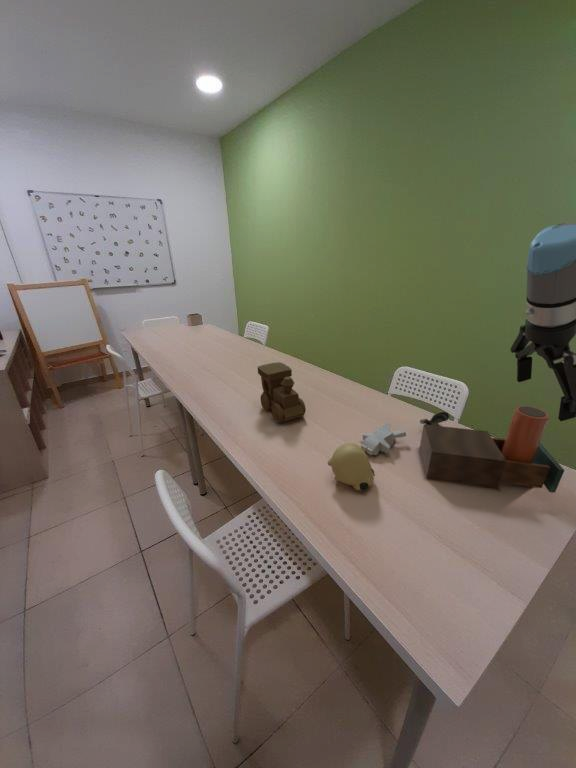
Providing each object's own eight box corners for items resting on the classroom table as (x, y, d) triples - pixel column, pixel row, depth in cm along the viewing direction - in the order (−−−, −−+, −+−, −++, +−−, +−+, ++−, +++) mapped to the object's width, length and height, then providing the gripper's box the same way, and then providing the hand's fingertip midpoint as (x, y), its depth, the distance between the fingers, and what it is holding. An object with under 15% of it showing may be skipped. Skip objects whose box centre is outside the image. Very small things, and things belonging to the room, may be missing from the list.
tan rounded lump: (343, 502, 77) (376, 494, 70) (316, 463, 77) (345, 451, 70) (358, 479, 84) (389, 469, 77) (333, 444, 84) (362, 431, 77)
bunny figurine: (353, 436, 91) (384, 416, 98) (353, 450, 93) (383, 428, 101) (380, 451, 84) (410, 427, 91) (379, 465, 86) (409, 441, 94)
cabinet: (480, 456, 87) (487, 431, 84) (497, 489, 75) (506, 461, 72) (419, 448, 91) (423, 424, 88) (426, 478, 79) (431, 451, 76)
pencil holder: (521, 462, 81) (541, 406, 74) (532, 478, 75) (555, 419, 68) (493, 459, 83) (510, 403, 76) (503, 474, 77) (522, 416, 70)
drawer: (536, 461, 83) (543, 441, 80) (561, 493, 72) (571, 471, 69) (469, 453, 87) (474, 433, 84) (482, 482, 76) (489, 460, 73)
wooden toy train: (257, 405, 120) (255, 366, 113) (282, 398, 125) (281, 360, 118) (280, 428, 104) (279, 384, 97) (308, 419, 108) (308, 377, 102)
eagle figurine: (445, 437, 94) (454, 421, 100) (434, 418, 93) (444, 404, 99) (423, 440, 100) (432, 425, 106) (413, 422, 99) (423, 408, 105)
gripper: (491, 300, 67) (494, 371, 78) (582, 359, 47) (567, 444, 58) (528, 286, 65) (525, 361, 77) (639, 342, 45) (612, 432, 57)
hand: (543, 397), depth 68 cm, fingers open, 13 cm apart
